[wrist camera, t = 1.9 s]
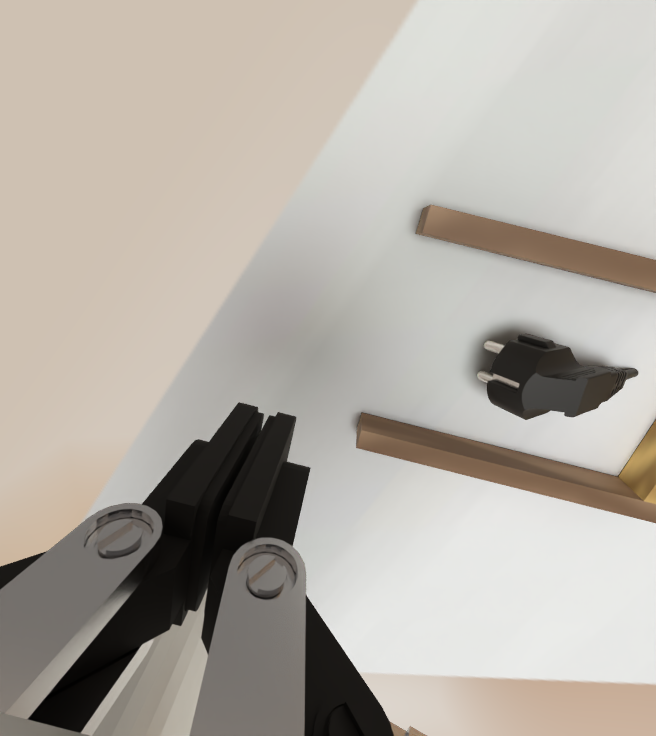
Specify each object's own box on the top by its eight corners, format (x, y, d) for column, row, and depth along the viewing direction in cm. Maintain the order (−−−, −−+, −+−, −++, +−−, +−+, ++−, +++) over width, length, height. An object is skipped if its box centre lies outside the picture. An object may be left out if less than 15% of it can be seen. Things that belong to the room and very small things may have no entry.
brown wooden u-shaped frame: (640, 500, 31) (668, 526, 28) (356, 428, 31) (356, 447, 28) (785, 297, 24) (840, 305, 22) (423, 208, 25) (431, 204, 22)
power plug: (632, 409, 27) (546, 446, 22) (537, 375, 33) (450, 397, 28) (660, 340, 25) (574, 361, 20) (554, 317, 31) (464, 327, 26)
